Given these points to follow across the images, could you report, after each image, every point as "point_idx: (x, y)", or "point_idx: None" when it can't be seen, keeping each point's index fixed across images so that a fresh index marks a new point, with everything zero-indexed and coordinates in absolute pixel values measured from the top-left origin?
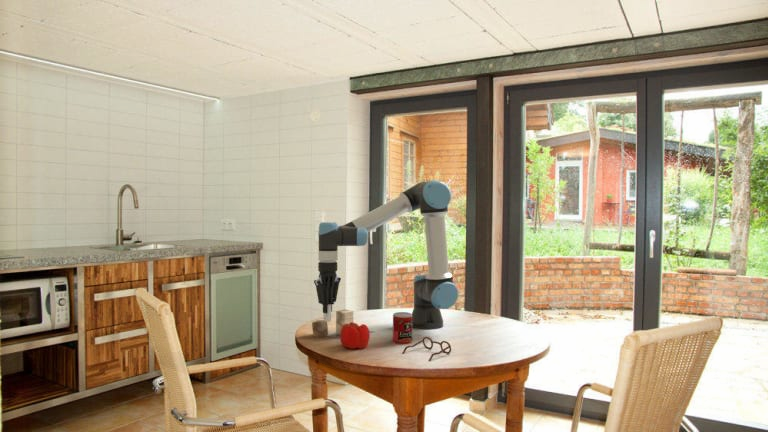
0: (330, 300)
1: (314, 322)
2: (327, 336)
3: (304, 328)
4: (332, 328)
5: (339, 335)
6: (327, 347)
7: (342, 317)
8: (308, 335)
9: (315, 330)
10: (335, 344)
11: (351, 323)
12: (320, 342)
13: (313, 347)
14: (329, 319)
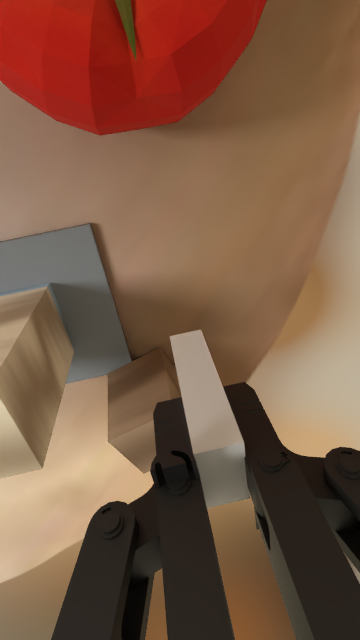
0: (208, 519)
1: None
2: (128, 351)
3: None
4: None
5: (65, 324)
6: (257, 165)
7: (23, 376)
8: None
9: None
10: (176, 195)
11: (99, 14)
12: (217, 286)
13: (310, 220)
14: (190, 340)
